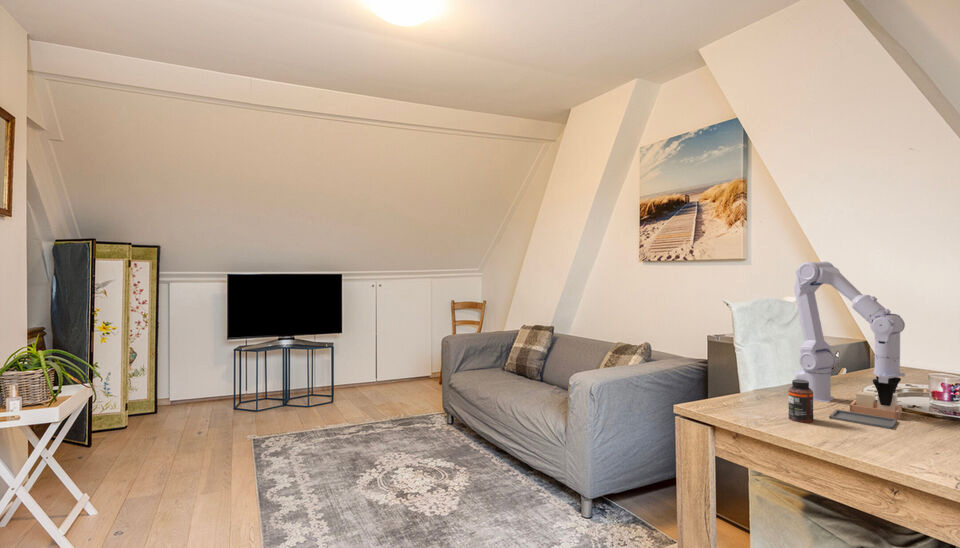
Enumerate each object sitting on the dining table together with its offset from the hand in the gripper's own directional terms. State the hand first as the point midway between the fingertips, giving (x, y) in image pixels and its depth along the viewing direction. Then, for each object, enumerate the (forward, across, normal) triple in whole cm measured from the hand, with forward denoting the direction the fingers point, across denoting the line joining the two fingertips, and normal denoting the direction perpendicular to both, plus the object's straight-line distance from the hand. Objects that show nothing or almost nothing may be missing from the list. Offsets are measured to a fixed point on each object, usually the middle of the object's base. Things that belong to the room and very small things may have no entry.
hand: (886, 403), depth 149 cm
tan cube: (+3, 0, +5) cm, 6 cm away
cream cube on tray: (+2, 0, 0) cm, 2 cm away
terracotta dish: (+3, 0, +2) cm, 4 cm away
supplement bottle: (+4, -22, +16) cm, 28 cm away
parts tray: (+3, -11, +4) cm, 12 cm away
